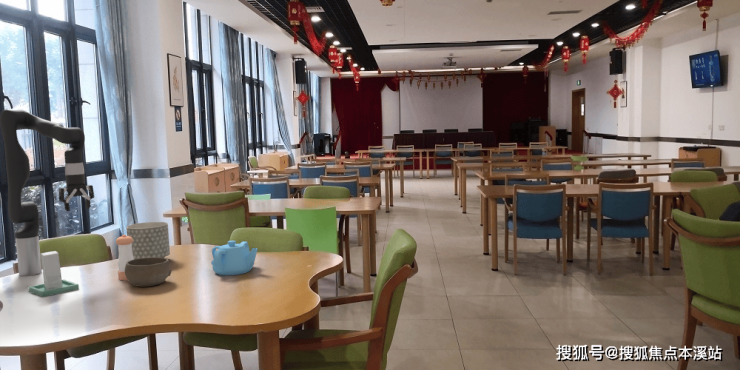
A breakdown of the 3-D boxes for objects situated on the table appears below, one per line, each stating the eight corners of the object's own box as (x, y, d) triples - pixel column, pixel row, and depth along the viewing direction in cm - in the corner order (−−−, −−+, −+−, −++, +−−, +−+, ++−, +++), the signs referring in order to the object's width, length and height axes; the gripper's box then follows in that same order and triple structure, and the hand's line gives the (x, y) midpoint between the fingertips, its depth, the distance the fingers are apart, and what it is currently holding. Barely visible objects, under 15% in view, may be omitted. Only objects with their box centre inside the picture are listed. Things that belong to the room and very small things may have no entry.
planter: (155, 255, 311) (152, 220, 309) (178, 259, 300) (175, 223, 298) (121, 263, 296) (118, 226, 294) (144, 267, 285) (141, 229, 283)
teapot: (214, 278, 260) (212, 246, 259) (209, 269, 278) (207, 239, 277) (259, 273, 267) (257, 242, 265) (251, 264, 285) (250, 235, 283)
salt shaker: (140, 276, 268) (136, 233, 266) (127, 280, 262) (123, 236, 260) (127, 275, 271) (124, 232, 269) (114, 279, 265) (111, 235, 263)
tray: (29, 291, 249) (28, 286, 249) (64, 283, 260) (63, 279, 260) (42, 297, 240) (42, 292, 240) (78, 288, 251) (78, 284, 250)
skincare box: (63, 289, 248) (59, 253, 247) (46, 291, 245) (43, 255, 243) (59, 285, 255) (56, 250, 253) (43, 287, 251) (40, 252, 250)
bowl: (179, 279, 260) (177, 256, 259) (151, 291, 243) (150, 266, 242) (146, 277, 266) (144, 255, 265) (116, 288, 249) (114, 264, 248)
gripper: (87, 171, 275) (90, 207, 277) (54, 174, 264) (57, 211, 266) (94, 172, 270) (97, 208, 272) (61, 175, 259) (64, 212, 261)
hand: (78, 209), depth 269 cm, fingers open, 8 cm apart
